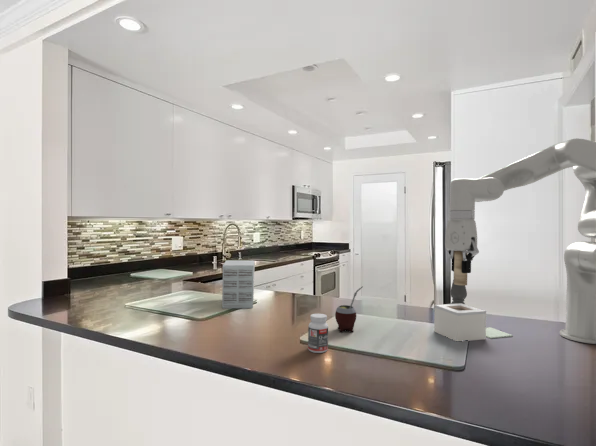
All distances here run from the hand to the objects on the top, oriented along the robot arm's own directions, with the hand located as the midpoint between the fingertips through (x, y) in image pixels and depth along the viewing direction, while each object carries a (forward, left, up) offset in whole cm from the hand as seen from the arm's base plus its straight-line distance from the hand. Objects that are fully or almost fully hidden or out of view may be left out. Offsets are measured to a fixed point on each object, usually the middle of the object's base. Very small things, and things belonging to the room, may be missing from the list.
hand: (461, 271), depth 120 cm
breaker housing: (0, 0, -21) cm, 21 cm away
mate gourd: (+34, -14, -21) cm, 43 cm away
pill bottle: (+50, +1, -21) cm, 55 cm away
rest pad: (-12, +1, -21) cm, 24 cm away
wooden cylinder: (0, 0, -4) cm, 4 cm away
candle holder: (-16, -19, -21) cm, 33 cm away
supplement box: (+64, -61, -21) cm, 91 cm away
